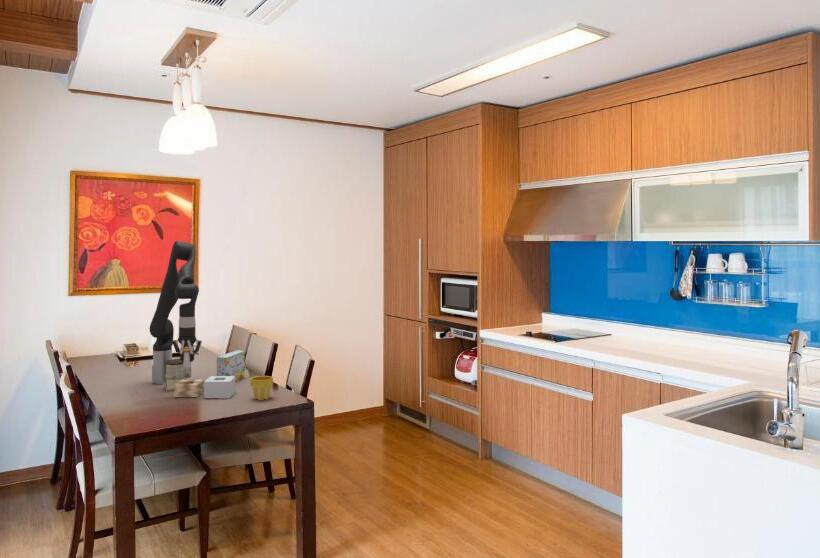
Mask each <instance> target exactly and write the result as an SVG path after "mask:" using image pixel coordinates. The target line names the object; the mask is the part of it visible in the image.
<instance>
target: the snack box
mask: <svg viewBox="0 0 820 558" xmlns="http://www.w3.org/2000/svg"><path fill="white" fill-rule="evenodd" d="M245 352H246V351H245V350H240V349H238V350H237V349H236V350H232V351H231V352H227V353H225V354H222V355H219V356H217V357H216V376H235V381H236V382H238V381H240V380H242V379H244V378H245V377H246V376H245V374H246V373H245V366H246V364H245V356H246V355H245V354H246V353H245ZM243 377H244V378H243ZM241 378H242V379H241ZM239 379H240V380H239ZM237 380H238V381H237Z"/></svg>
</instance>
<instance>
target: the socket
mask: <svg viewBox="0 0 820 558" xmlns="http://www.w3.org/2000/svg"><path fill="white" fill-rule="evenodd" d="M236 391H237V389H236V382H235V376H217V375H215V376H212V375H211V376H209V377H207V379H206V380H204V392H203V399H204V398H219V399H231V398H232V397H233V396H234V394H235V393H236ZM232 395H233V396H232ZM231 396H232V397H231ZM230 397H231V398H230Z"/></svg>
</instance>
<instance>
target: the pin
mask: <svg viewBox="0 0 820 558" xmlns="http://www.w3.org/2000/svg"><path fill="white" fill-rule="evenodd" d="M182 351H183V378H187V379H189V378H192V362H190V354H191V352H190V349H189V347H185V348H183V350H182Z"/></svg>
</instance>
